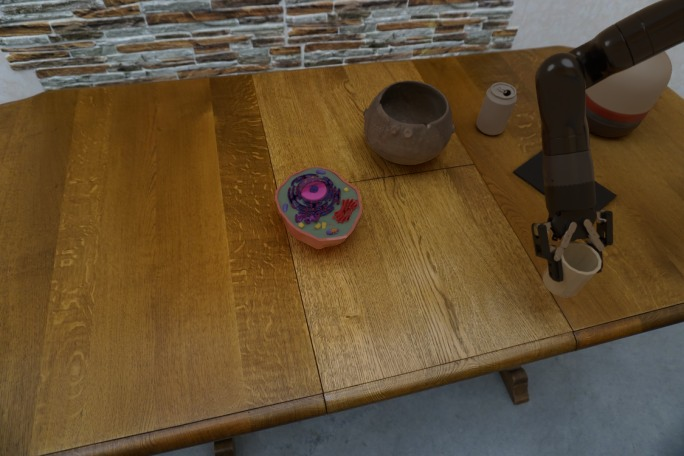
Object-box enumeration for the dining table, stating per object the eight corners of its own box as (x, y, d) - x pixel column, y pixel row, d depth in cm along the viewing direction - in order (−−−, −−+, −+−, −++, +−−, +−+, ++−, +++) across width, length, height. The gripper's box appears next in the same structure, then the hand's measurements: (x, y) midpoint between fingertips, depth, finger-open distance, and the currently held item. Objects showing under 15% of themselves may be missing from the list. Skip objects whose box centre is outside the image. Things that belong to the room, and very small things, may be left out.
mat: (615, 196, 107) (617, 195, 107) (584, 224, 102) (586, 222, 102) (544, 149, 116) (545, 148, 116) (512, 172, 111) (513, 170, 111)
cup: (587, 284, 83) (609, 259, 76) (566, 305, 80) (586, 281, 74) (556, 259, 86) (574, 234, 79) (534, 279, 83) (552, 255, 77)
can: (499, 141, 118) (514, 102, 108) (471, 130, 120) (484, 92, 110) (507, 124, 122) (523, 86, 112) (480, 115, 124) (493, 76, 114)
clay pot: (411, 112, 123) (420, 63, 111) (462, 160, 113) (479, 110, 101) (345, 139, 116) (347, 89, 104) (393, 193, 106) (402, 144, 94)
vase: (567, 134, 120) (612, 52, 101) (569, 96, 130) (610, 15, 111) (635, 149, 117) (695, 68, 99) (632, 110, 127) (685, 29, 108)
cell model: (297, 275, 92) (295, 242, 83) (269, 203, 103) (263, 167, 94) (374, 250, 96) (380, 216, 87) (339, 184, 107) (340, 147, 98)
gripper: (544, 188, 71) (553, 291, 73) (624, 172, 73) (630, 272, 76) (516, 186, 78) (526, 280, 81) (590, 172, 81) (597, 263, 83)
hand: (576, 276), depth 78 cm, fingers closed on cup, 7 cm apart
